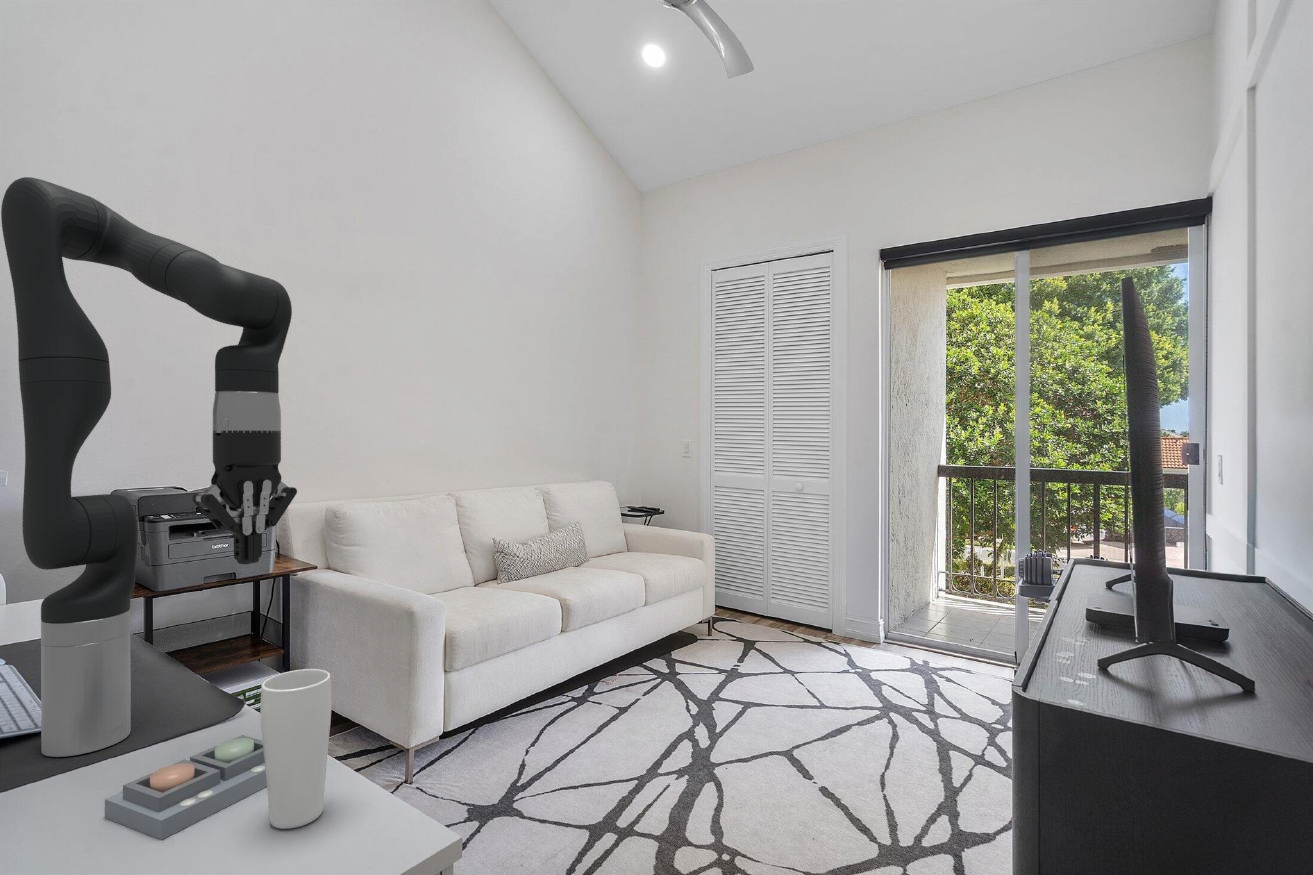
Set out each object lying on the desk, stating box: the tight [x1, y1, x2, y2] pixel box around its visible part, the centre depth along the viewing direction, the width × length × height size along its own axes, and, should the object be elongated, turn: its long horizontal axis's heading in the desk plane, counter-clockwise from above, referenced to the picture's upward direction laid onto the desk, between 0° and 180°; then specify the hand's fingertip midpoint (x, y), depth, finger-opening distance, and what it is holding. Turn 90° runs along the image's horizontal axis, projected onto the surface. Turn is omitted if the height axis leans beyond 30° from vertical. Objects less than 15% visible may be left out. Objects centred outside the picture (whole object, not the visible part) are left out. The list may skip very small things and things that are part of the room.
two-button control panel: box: [104, 735, 267, 841], centre depth 78 cm, size 10×15×4 cm, turn 156°
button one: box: [215, 738, 254, 763], centre depth 81 cm, size 4×4×2 cm
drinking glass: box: [260, 668, 332, 830], centre depth 73 cm, size 7×7×15 cm
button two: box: [150, 763, 195, 793], centre depth 75 cm, size 4×4×2 cm
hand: (247, 562), depth 87 cm, fingers closed
